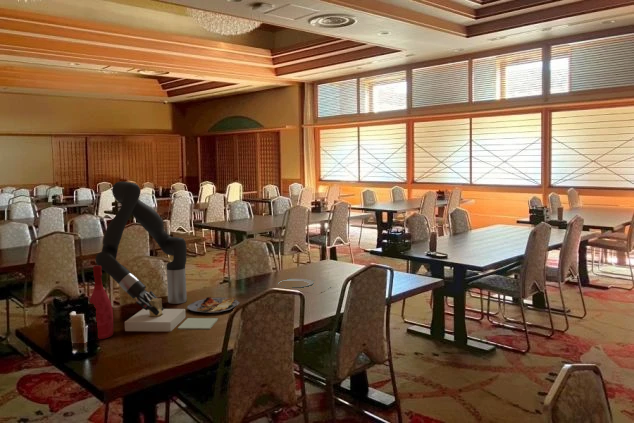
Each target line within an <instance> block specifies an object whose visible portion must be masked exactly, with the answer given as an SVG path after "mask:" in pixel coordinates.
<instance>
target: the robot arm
mask: <svg viewBox="0 0 634 423" xmlns="http://www.w3.org/2000/svg"><path fill="white" fill-rule="evenodd" d="M111 192H112V196H113V197H114V199H115V200H116V201H117V203H119V204H121V206H120V208H119V210H118V212H117V213H116V215H115V216H114V217H113V218H112V219H111V221H110V222H108V223H109V224H108V225H107V227H106V230H105V232H104V236H103V239H102V244H103V245H102V249H101V251H100V252H98V253H97V254H96V255H95V263H96V265H100V266H101V267H102V271H104V273H106V274H108V275H109V276H110V277H111V278H112V279H113V280H114V281H115V282H116V283H117V284H118V285H119V286H120V288H121V289H122V290H123V291H124V292H125V293H127V295H128V296H130V297H131V299H137V301H135V303H136V304H137V305H139V306H140V307H141V308H142V309H145V310H150V311H151V312H153V313H154V314H155V315H158V314H159V311H158V310H157V309H156V308H155V307H153V305H152V304H151V303H150V301H151V299H154V298H158V297H157V296H156V294H154V292H153V291H152V290H150V291H147V290H146V288H147V287H146V285H145V284H144V283H143V282H142V281H141V280H140V279H139V278H138V277H137V276H136V275H135V274H133V273H132V272H131V271H130V270H129V269H128V268H127V267H126V266H124V265H122V264H121V263H120V262H119V261H118V260H117V254H118V249H119V246H120V242H121V239H122V237H123V233H124V230H125V228H126V225H127V223H128V221H129V219H130V217H131V215H132V216H133V218H134V219H135V220H136V221H137V222H138V223H139V225H141V227H143V229H144V230H145V231H146V232H147V233H148V234H149V235H150V236H151V237H152V238H153V240H154V241H155V242H156V243H157V245H158V246H159V248H160V249H161V252H163V253H164V254H165V255H169V256H173V257H172V260H171V261H170V262H167V263H166V283H167V284H166V286H167V300H168V301H167V302H168V304H174V305H176V304H177V305H178V304H183V303H186V302H187V301H188V300H187V298H188V296H187V278H186V275H187V274H186V265H187V264H186V263H187V242H186V240H185V238H182V237H178V236H171V235H169V234H168V233H167V232H166V231H165V229H164V220H163V219H162V216H160V215H159V213H158V212H157V211H156V210H155V209H153V208H152V207H151V206H150V205H147V204H146V202H143V201H142V200H140V196H141V189H140V186H139V185H138V184H137V183H136V182H135V183H134V182H130V181H117V182H115V183H114V184H113V185H112V188H111ZM164 309H165V308H164V307H163V306H162V311H163V310H164Z"/></svg>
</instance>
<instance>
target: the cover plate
mask: <svg viewBox="0 0 634 423" xmlns="http://www.w3.org/2000/svg"><path fill="white" fill-rule="evenodd" d="M186 319H187V318H186V308H164V310H163V311H162V316H160V317H150V313H149V310H145V309H144V308H142V309H141V310H139V311H138V312H136V313H135V314H134V315H132V316H130V317H129V318H128V319H126V320H125V321H124V331H125V332H173V330H174V329H175V328H176V327H177V326H178V325H180V324H181V323H182V322H183V321H185V320H186Z"/></svg>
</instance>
